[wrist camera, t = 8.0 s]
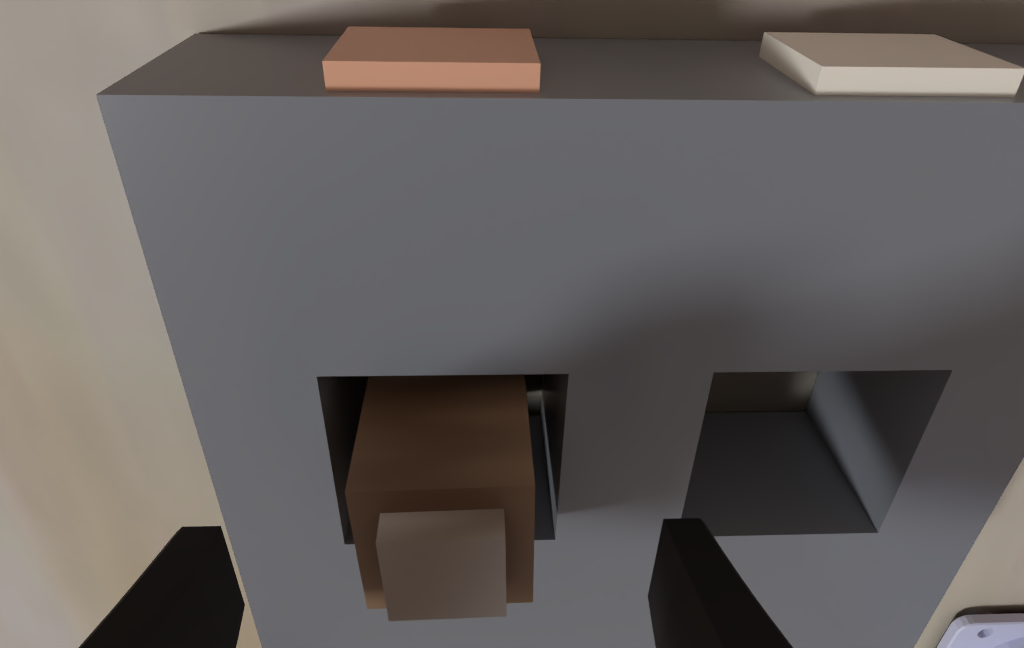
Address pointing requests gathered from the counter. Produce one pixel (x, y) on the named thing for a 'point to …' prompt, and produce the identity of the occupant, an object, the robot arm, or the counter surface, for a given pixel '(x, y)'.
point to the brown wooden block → (443, 496)
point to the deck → (598, 303)
